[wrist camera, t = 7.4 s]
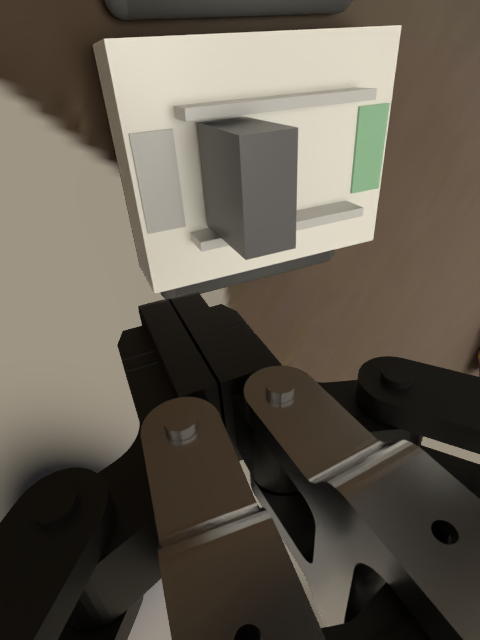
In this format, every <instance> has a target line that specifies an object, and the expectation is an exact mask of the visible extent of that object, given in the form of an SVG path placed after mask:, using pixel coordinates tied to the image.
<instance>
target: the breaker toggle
mask: <svg viewBox="0 0 480 640" xmlns="http://www.w3.org/2000/svg"><path fill="white" fill-rule="evenodd" d="M197 131H198V141H199V150H200V160H201V169H202V179H203V188H204V198H205V207H206V217H207V226H208V227H209V228H210V229H211V230H213V231H214V232H215V233H216V234H217V235H218V236H219V237H220V238H222V239H223V240H224V241H225V242H226V243H227V244H228V245H229V246H231V247H232V248H233V249H234V250H235V251H236V252H237V253H238V254H239V255H241V256H242V257H243V258H244V259H245V260H248V259H252V258H257V257H261V256H265V255H269V254H274V253H278V252H282V251H286V250H290V249H295V248H296V212H297V164H298V127H293V126H288V125H283V124H278V123H274V122H269V121H264V120H259V119H254V118H249V117H238V118H230V119H221V120H213V121H204V122H197Z"/></svg>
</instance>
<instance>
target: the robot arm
mask: <svg viewBox="0 0 480 640" xmlns="http://www.w3.org/2000/svg"><path fill="white" fill-rule="evenodd" d="M138 308H139V314H140V318H141V322H142V326H140V327H136V328H132V329H128V330H125V331H123V332H122V335H121V337H120V340H119V342H118V349H119V352H120V356H121V359H122V363H123V366H124V370H125V373H126V377H127V380H128V384H129V387H130V391H131V394H132V398H133V401H134V404H135V408H136V411H137V415H138V418H139V421H140V428H139V432H138V435H137V437H136V439H135V441H134V443H133V444H132V446H131V447H130V448H129V449H128V451H127V452H126V453H125V454H124V455H122V456H121V457H120V458H119V459H117V460H116V461H115V462H113V463H112V464H110V465H109V466H108V467H106V468H105V469H103V470H102V471H100V472H99V473H96V472H94V471H92V470H89V469H86V468H68V469H63V470H60V471H56V472H54V473H52V474H49V475H47V476H45V477H44V478H42V479H40V480H39V481H37V482H36V483H35V484H34V485H32V486H31V487H30V488H29V489H27V490H26V491H25V492H24V493H23V495H22V496H21V497H20V498H19V499H18V501H17V502H16V503H15V504H14V506H13V507H12V508H11V509H10V511H9V512H8V513H7V515H6V516H5V517H4V519H3V520H2V521H1V523H0V640H127V639H128V636H129V634H130V631H131V629H132V626H133V624H134V621H135V619H136V616H137V614H138V611H139V609H140V606H141V603H142V600H143V595H144V594H145V593H146V592H147V591H148V590H149V589H150V588H151V587H152V586H153V585H154V584H155V583H157V582H158V581H159V580H160V579H161V578H162V583H163V589H164V596H165V602H166V608H167V614H168V620H169V626H170V631H171V638H172V640H480V464H477V463H473V462H470V461H467V460H464V459H461V458H458V457H455V456H452V455H449V454H446V453H443V452H440V451H437V450H434V449H431V448H428V447H425V446H422V445H421V441H422V438H423V436H425V437H427V438H431V439H434V440H437V441H440V442H443V443H446V444H449V445H453V446H456V447H459V448H462V449H465V450H468V451H471V452H475V453H478V454H480V377H477V376H473V375H469V374H465V373H461V372H457V371H453V370H449V369H445V368H440V367H436V366H432V365H428V364H424V363H420V362H416V361H412V360H408V359H404V358H399V357H391V356H388V357H377V358H373V359H371V360H369V361H367V362H365V363H364V364H363V365H362V366H361V368H360V369H359V373H358V380H351V381H340V382H327V383H320V382H316V381H315V380H314V379H313V378H312V377H311V376H309V375H308V374H307V373H305V372H304V371H302V370H299V369H297V368H293V367H289V366H282V365H281V363H280V362H279V361H278V360H277V359H276V358H275V356H274V355H273V354H272V353H271V352H270V350H269V349H268V348H267V347H266V346H265V344H264V343H263V342H262V341H261V340H260V338H259V337H258V336H257V335H256V334H254V332H253V330H252V329H251V328H250V327H249V325H246V322H245V321H244V319H243V318H242V317H241V316H240V315H239V314H238V312H237V311H235V310H233V309H231V308H228V307H226V306H224V305H222V304H220V305H216V306H213V307H209V306H208V305H207V303H206V302H205V301H204V299H203V298H202V297H201V295H200V294H199V293H198V292H197V291H195V292H191V293H187V294H183V295H179V296H175V297H171V298H169V300H168V299H164V300H160V301H156V302H153V303H148V304H145V305H141V306H138ZM240 460H244V462H245V464H246V466H247V467H248V469H249V471H250V482H251V488H252V491H253V492H254V495H255V496H256V498H257V499H258V501H259V503H260V504H261V506H262V508H260V507H259V506H258V504H257V502H256V500H255V498H254V496H253V494H252V491H251V489H250V486H249V484H248V482H247V479H246V477H245V474H244V472H243V469H242V467H241V465H240V462H239V461H240ZM282 540H283V541H284V543H285V544H286V546H287V547H288V549H289V551H290V552H291V554H292V555H293V557H294V559H295V561H296V562H297V563H298V565H299V567H300V568H301V570H302V572H303V574H304V576H305V578H306V581H307V583H308V586H309V589H310V592H311V596H312V599H313V601H314V604H315V606H316V608H317V611H318V613H319V615H320V617H321V618H322V620H323V622H324V624H325V626H326V627H325V628H321V627H320V625H319V623H318V621H317V618H316V616H315V614H314V611H313V609H312V607H311V605H310V602H309V600H308V598H307V595H306V593H305V591H304V589H303V586H302V584H301V582H300V580H299V577H298V575H297V573H296V570H295V568H294V566H293V563H292V561H291V559H290V557H289V554H288V552H287V550H286V548H285V545H284V543H283V541H282Z"/></svg>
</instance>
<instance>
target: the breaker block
mask: <svg viewBox="0 0 480 640" xmlns="http://www.w3.org/2000/svg"><path fill="white" fill-rule="evenodd" d="M400 33H401V25H396V26H374V27H352V28H330V29H308V30H286V31H264V32H242V33H220V34H198V35H176V36H154V37H131V38H109V39H102V40H100V41H98V42H97V43H95V44H93V50H94V55H95V59H96V64H97V69H98V73H99V78H100V83H101V87H102V92H103V97H104V101H105V106H106V111H107V115H108V120H109V125H110V130H111V134H112V139H113V144H114V148H115V153H116V158H117V162H118V167H119V172H120V176H121V181H122V186H123V190H124V195H125V200H126V204H127V209H128V214H129V218H130V223H131V228H132V233H133V237H134V242H135V247H136V251H137V256H138V261H139V265H140V267H141V269H142V271H143V273H144V275H145V276H146V279H147V280H148V282H149V284H150V286H151V288H152V290H153V292H154V293H159V292H164V291H168V290H172V289H176V288H180V287H184V286H188V285H192V284H196V283H200V282H204V281H208V280H212V279H216V278H220V277H224V276H229V275H233V274H237V273H241V272H245V271H249V270H253V269H257V268H261V267H265V266H269V265H273V264H277V263H281V262H285V261H289V260H293V259H298V258H302V257H306V256H310V255H314V254H318V253H322V252H326V251H330V250H334V249H338V248H342V247H346V246H350V245H354V244H358V243H363V242H367V241H371V240H373V236H374V229H375V221H376V214H377V206H378V199H379V191H380V184H381V176H382V169H383V161H384V153H385V146H386V138H387V131H388V123H389V116H390V108H391V101H392V93H393V86H394V78H395V70H396V63H397V55H398V48H399V40H400ZM238 117H249V118H254V119H259V120H264V121H269V122H274V123H278V124H283V125H288V126H293V127H298V164H297V212H296V248H295V249H290V250H286V251H282V252H278V253H274V254H269V255H265V256H261V257H257V258H252V259H248V260H245V259H244V258H243V257H242V256H241V255H239V254H238V253H237V252H236V251H235V250H234V249H233V248H232V247H231V246H229V245H228V244H227V243H226V242H225V241H224V240H223V239H222V238H220V237H219V236H218V235H217V234H216V233H215V232H214V231H213V230H211V229H210V228H209V227H208V226H207V217H206V207H205V198H204V188H203V179H202V169H201V160H200V150H199V141H198V131H197V122H204V121H213V120H221V119H230V118H238Z"/></svg>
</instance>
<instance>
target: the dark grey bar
mask: <svg viewBox="0 0 480 640" xmlns="http://www.w3.org/2000/svg"><path fill="white" fill-rule="evenodd" d="M104 1H105V4H106V6H107V8H108V9H109V11H110V12H111V13H112V14H113V15H114V16H115V17H117V18H119V19H122V20H147V19H178V18H209V17H241V16H272V15H303V14H334V13H341V12H343V11H345V10H346V9H347V8H348V7H349V6H350V4H351V2H352V0H104ZM333 255H334V250H330V251H326V252H322V253H318V254H314V255H310V256H306V257H302V258H298V259H293V260H289V261H285V262H281V263H277V264H273V265H269V266H265V267H261V268H257V269H253V270H249V271H245V272H241V273H237V274H233V275H229V276H224V277H220V278H216V279H212V280H208V281H204V282H200V283H196V284H192V285H188V286H184V287H180V288H176V289H172V290H168V291H164V292H160V293H161V295H162V296H163V297H164V298H165V299H168V300H169V298H171V297H175V296H179V295H183V294H187V293H191V292H195V291H197V292H198V293H199V294H201V293H205V292H209V291H213V290H217V289H221V288H225V287H229V286H233V285H236V284H240V283H244V282H248V281H252V280H256V279H260V278H264V277H268V276H272V275H276V274H280V273H283V272H287V271H291V270H295V269H299V268H303V267H307V266H311V265H315V264H319V263H323V262H326V261H328V260H330V259H331V258H332V256H333Z"/></svg>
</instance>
